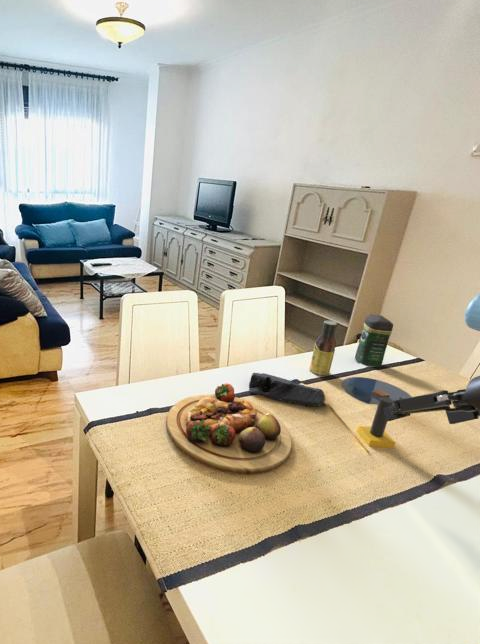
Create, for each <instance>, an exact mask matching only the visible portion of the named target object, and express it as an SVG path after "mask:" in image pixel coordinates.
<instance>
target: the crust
mask: <svg viewBox="0 0 480 644" xmlns="http://www.w3.org/2000/svg"><path fill="white" fill-rule="evenodd" d="M372 394H374V395H375V396H377V397H379V398H381V397H387V398H389V396H390V395H389V394H387V393H385V392H384V391H382V390H376V391H373V392H372Z"/></svg>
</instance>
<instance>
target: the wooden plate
mask: <svg viewBox="0 0 480 644" xmlns="http://www.w3.org/2000/svg"><path fill="white" fill-rule="evenodd" d="M214 390H215V391H214V393H205V394H196V395H191V396H188V397H186V398H184V399H181V400H179V401H177V402H176V403H175V404H174V405H173V406H172V407H170V409H169V411H168V412H167V415H166V419H165V428H166V431H167V434H168V436H169V438H170V439H171V441H172V443H173V444H174V445H175V446H176V447H177V448H178V449H179V450H180V451H181V452H182V453H183V454H184V455H186V456H187V457H189V458H190V459H192V460H194V461H195V462H198V463H199V464H201V465H204V466H206V467H208V468H211V469H214V470H216V471H221V472H224V473H229V474H235V475H248V476H249V475H259V474H266V473H269V472H272V471H274V470H276V469H278V468H280V467H282V466H283V465H284V464H285V463H286V462H287V461H288V460H289V458H290V456H291V454H292V452H293V438H292V436H291V433H290V431H289V429H288V428H287V426H286V424H284V423H283V421H282V420H281V419H280V418H278V416H276V415H275V414H274V413H273V412H271V411H269V410H268V409H266V408H265V407H263V406H261V405H259V404H257V403H255V402H252V401H249V400H246V399H244V398H240V397H236V395H235V387H233V385H232V384H231V383H228V382H227V383H226V382H225V383H222V384H221V385H220V386H219V385H217V386H216V388H215V389H214Z"/></svg>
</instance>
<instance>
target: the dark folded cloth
mask: <svg viewBox="0 0 480 644" xmlns="http://www.w3.org/2000/svg"><path fill="white" fill-rule="evenodd" d="M248 388H249V389H248V390H249V391H248V392H249V393H250V394H252V395H254V396H256V395H257V396H261V397H263V398H267V399H272V400H275V401H284V402H287V403H290V404H296V405H301V406H306V407H308V406H313V407H315V406H316V407H321V406H322V405H324V402H325V399H326V398H325V397H326V395H325V393H324V391H323V389H322V388H318V387H311V386H307V385H304V384H300V383H297V382H295V381H293V380H290V379H289V380H288V379H286V378H283V377H280V376H276V375H272V374H268V373H263V372H262V373H260V372H252V374H251V376H250V379H249V383H248ZM264 389H266V390H268V392H264Z"/></svg>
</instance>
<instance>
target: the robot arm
mask: <svg viewBox="0 0 480 644" xmlns="http://www.w3.org/2000/svg"><path fill="white" fill-rule="evenodd" d="M464 322H465V324H466V326H467V327H468V328H469V329H472V330H475V331H477V332H480V293H478V294H477V295H476V296H474V297H473V298H472V300H471V301H470V302H469V303H468V305H467V307H466V309H465V313H464ZM393 404H394V405H392V406H389V407H386V408H383V409H384V413H385V417H386V421H387V422H392V421H395V420H399V419H402V418H406V417H409V416H411V415H412V414H420V413H421V414H422V413H423V414H424V413H431V412H442V411H445V413H446V417H447V420H448V423H449V425H455V424H459V423H465V422H469V421H474V420H478V419H479V418H480V375H477V376H475V377H473V378H471V379H470V380H469V382H468V383H467V386H466V388H464V389H457V390H456V391H450V392H449V391H448V390H445V389H442V390H440V391H436V392H432V393H426V394H422V395H421V394H420V395H415V396H412V397H410V398H404V399H403V398H399V399H398V400H393ZM451 405H452V406H453V407H451Z"/></svg>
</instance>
